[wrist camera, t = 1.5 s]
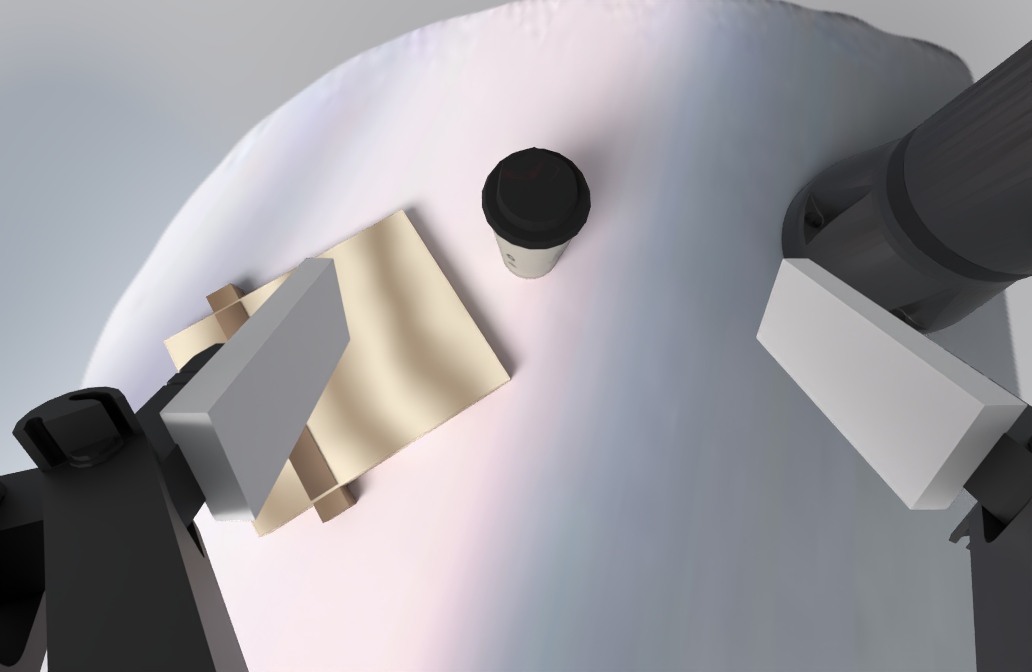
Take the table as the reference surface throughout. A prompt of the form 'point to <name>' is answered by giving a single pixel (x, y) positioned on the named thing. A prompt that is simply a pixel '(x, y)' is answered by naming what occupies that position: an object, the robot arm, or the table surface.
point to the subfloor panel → (368, 366)
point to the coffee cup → (535, 209)
